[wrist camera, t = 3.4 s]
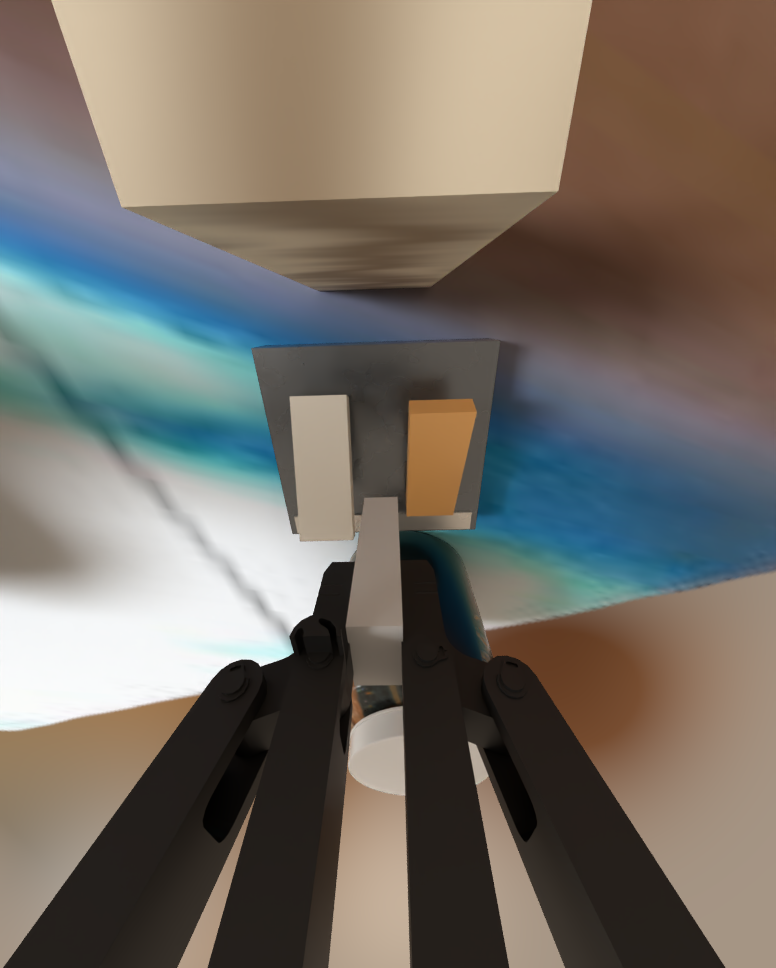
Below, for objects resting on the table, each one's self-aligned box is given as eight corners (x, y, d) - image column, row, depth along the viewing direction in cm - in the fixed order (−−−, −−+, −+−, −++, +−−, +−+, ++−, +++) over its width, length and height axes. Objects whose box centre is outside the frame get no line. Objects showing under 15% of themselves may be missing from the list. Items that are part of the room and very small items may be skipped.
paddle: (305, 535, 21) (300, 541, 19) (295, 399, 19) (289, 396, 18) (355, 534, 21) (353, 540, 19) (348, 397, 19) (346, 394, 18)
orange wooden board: (405, 503, 23) (406, 516, 22) (408, 400, 16) (410, 414, 16) (450, 502, 23) (453, 515, 22) (472, 398, 16) (476, 412, 15)
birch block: (318, 290, 19) (122, 206, 5) (308, 206, 17) (-61, -328, 3) (430, 287, 19) (558, 191, 5) (433, 202, 17) (657, -367, 3)
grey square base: (299, 517, 27) (288, 543, 24) (265, 345, 20) (242, 350, 17) (468, 512, 27) (479, 538, 24) (488, 338, 20) (507, 341, 17)
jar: (460, 520, 27) (529, 706, 14) (468, 607, 33) (523, 800, 20) (334, 539, 28) (288, 730, 15) (362, 620, 34) (346, 813, 21)
